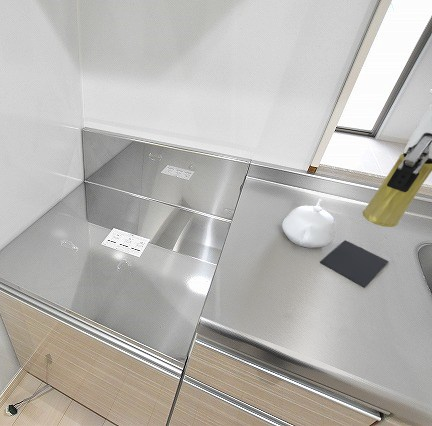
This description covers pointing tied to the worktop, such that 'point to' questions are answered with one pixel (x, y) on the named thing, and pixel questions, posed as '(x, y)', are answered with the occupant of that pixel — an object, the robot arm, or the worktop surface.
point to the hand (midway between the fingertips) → (402, 183)
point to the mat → (354, 263)
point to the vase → (394, 197)
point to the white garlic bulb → (310, 226)
